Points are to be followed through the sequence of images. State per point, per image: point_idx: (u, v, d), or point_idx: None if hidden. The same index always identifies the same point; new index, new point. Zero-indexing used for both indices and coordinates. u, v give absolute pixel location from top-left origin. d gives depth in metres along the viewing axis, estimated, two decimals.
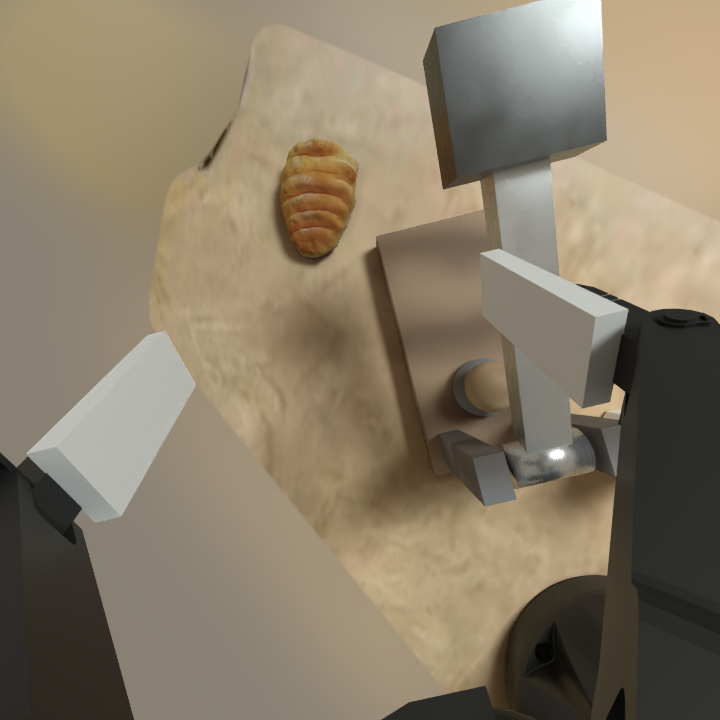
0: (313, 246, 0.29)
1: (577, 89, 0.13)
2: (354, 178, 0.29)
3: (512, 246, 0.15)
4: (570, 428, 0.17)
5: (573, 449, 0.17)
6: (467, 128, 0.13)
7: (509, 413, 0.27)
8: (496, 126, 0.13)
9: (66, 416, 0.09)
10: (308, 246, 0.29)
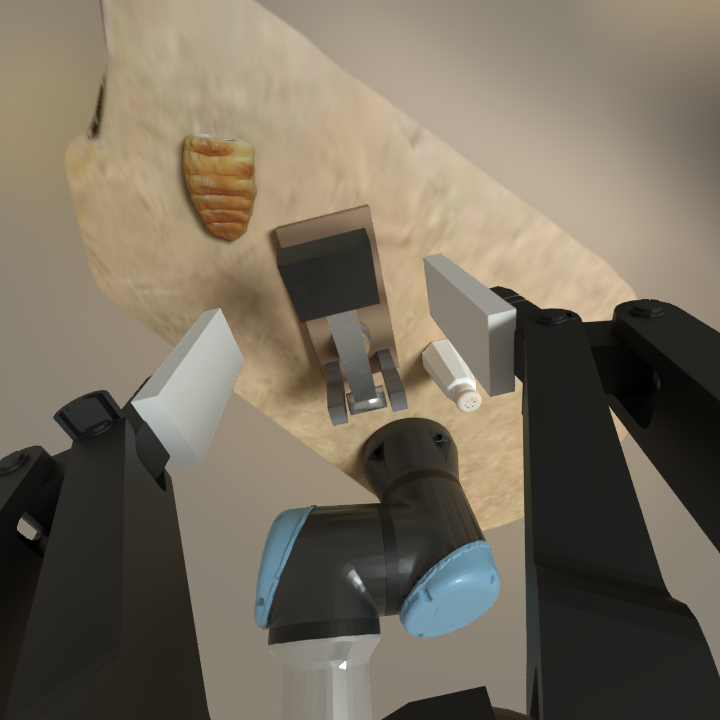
0: (227, 235, 0.35)
1: (362, 285, 0.24)
2: (252, 173, 0.32)
3: (338, 336, 0.28)
4: (376, 393, 0.35)
5: (377, 401, 0.36)
6: (303, 304, 0.24)
7: (370, 350, 0.43)
8: (319, 302, 0.24)
9: (154, 374, 0.10)
10: (222, 235, 0.35)
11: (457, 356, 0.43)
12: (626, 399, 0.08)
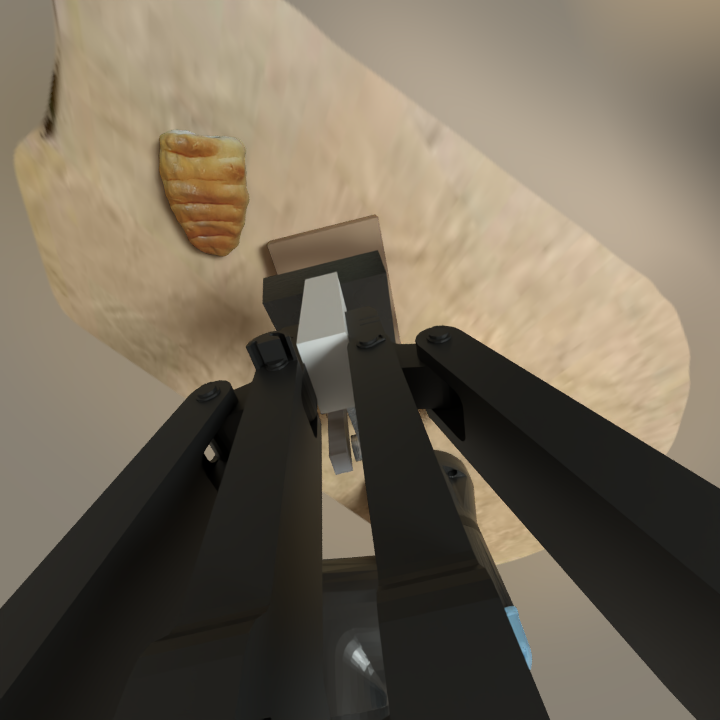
0: (215, 250, 0.30)
1: None
2: (243, 176, 0.27)
3: None
4: None
5: None
6: None
7: None
8: None
9: (300, 324, 0.11)
10: (210, 251, 0.30)
11: None
12: (445, 416, 0.09)
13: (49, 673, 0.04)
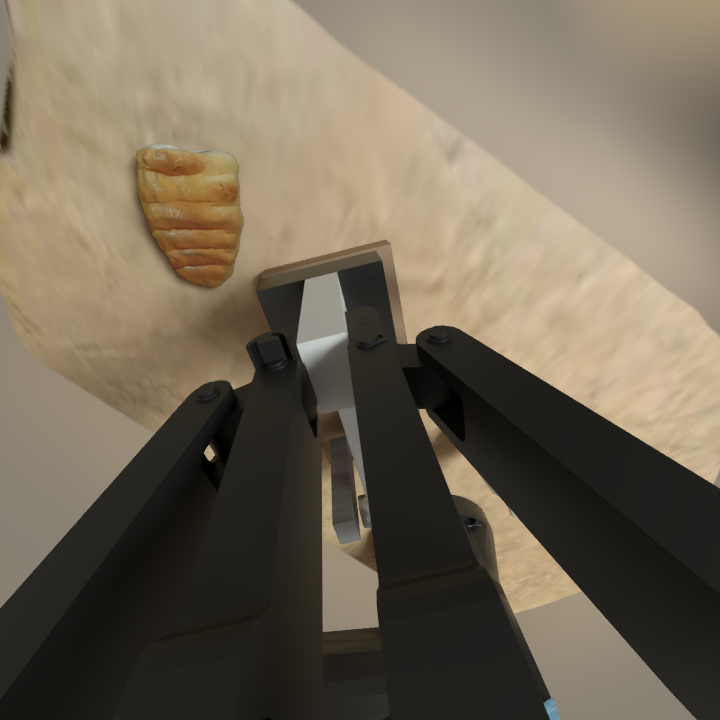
0: (205, 281, 0.26)
1: None
2: (235, 196, 0.23)
3: None
4: None
5: None
6: None
7: None
8: None
9: (300, 324, 0.11)
10: (199, 282, 0.26)
11: None
12: (446, 416, 0.09)
13: (49, 673, 0.04)
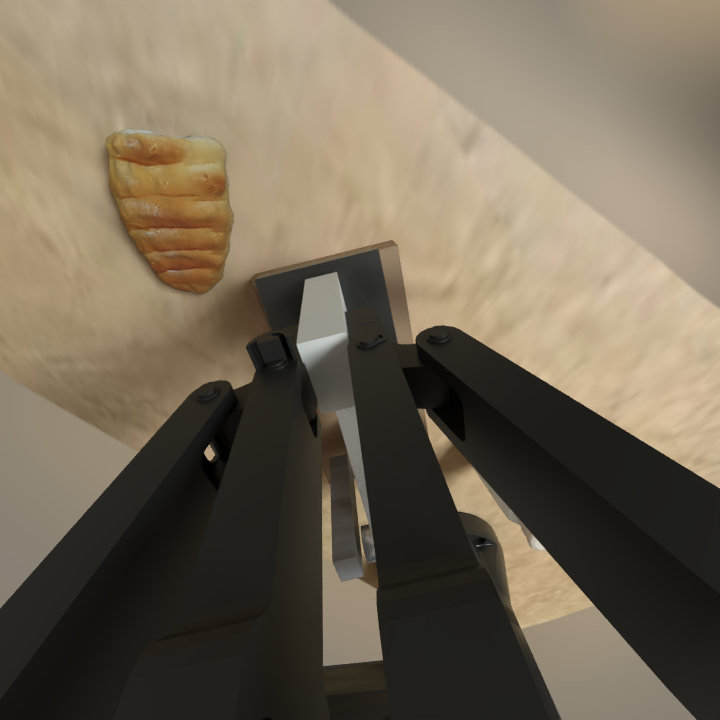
0: (191, 287, 0.23)
1: None
2: (223, 189, 0.20)
3: None
4: None
5: None
6: None
7: None
8: None
9: (300, 324, 0.11)
10: (185, 287, 0.23)
11: None
12: (446, 416, 0.09)
13: (49, 673, 0.04)
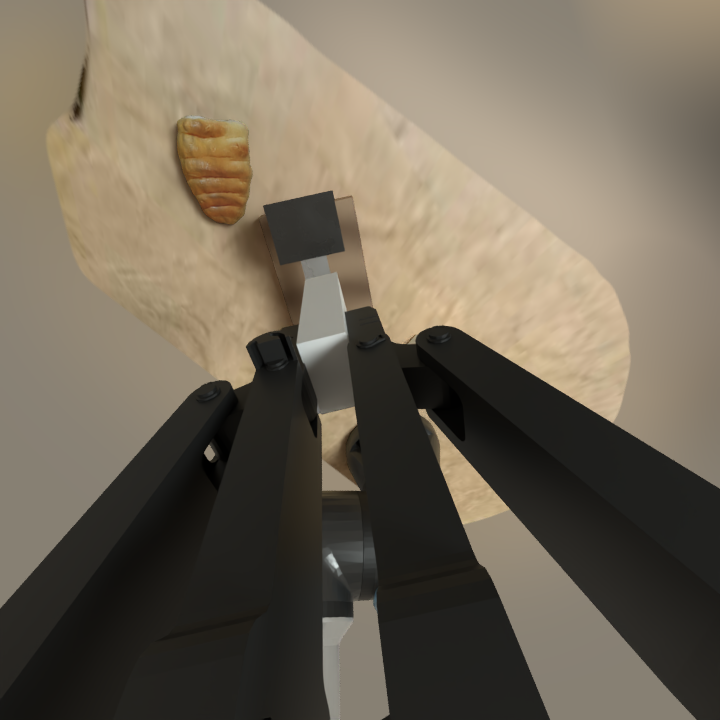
0: (225, 219, 0.35)
1: (328, 230, 0.30)
2: (246, 153, 0.32)
3: None
4: None
5: None
6: (282, 245, 0.30)
7: None
8: (295, 244, 0.30)
9: (300, 324, 0.11)
10: (220, 219, 0.35)
11: None
12: (445, 416, 0.09)
13: (49, 673, 0.04)
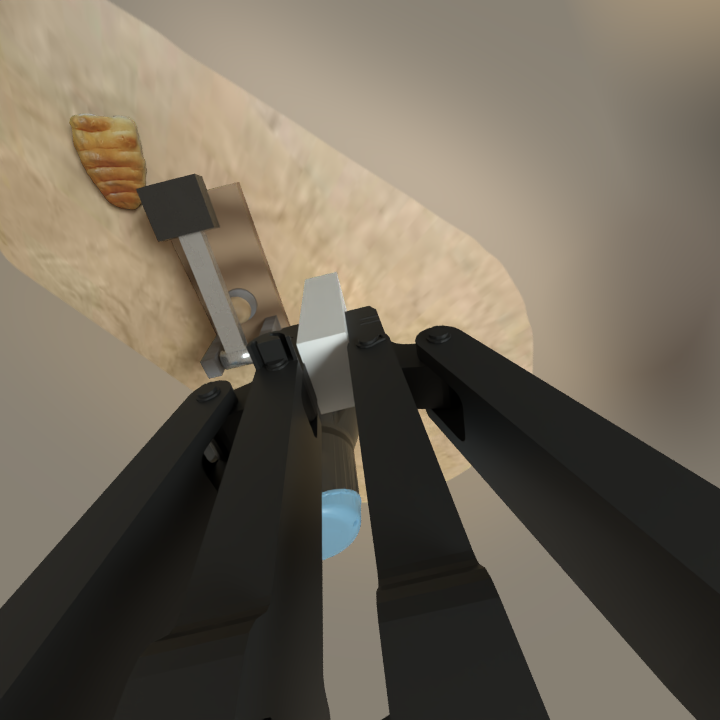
0: (125, 205, 0.40)
1: (196, 209, 0.34)
2: (134, 145, 0.37)
3: (194, 265, 0.37)
4: (242, 342, 0.41)
5: (244, 351, 0.41)
6: (157, 223, 0.35)
7: (259, 317, 0.48)
8: (168, 222, 0.35)
9: (300, 324, 0.11)
10: (122, 205, 0.40)
11: None
12: (445, 416, 0.09)
13: (49, 673, 0.04)
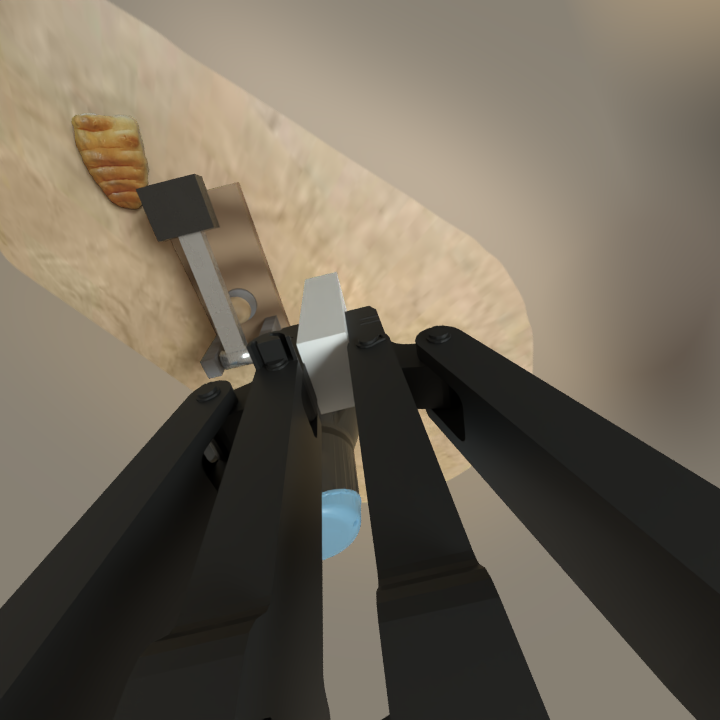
0: (128, 204, 0.40)
1: (196, 209, 0.34)
2: (136, 144, 0.37)
3: (194, 265, 0.37)
4: (242, 342, 0.41)
5: (244, 351, 0.41)
6: (157, 223, 0.35)
7: (259, 317, 0.48)
8: (168, 222, 0.35)
9: (301, 324, 0.11)
10: (124, 204, 0.40)
11: None
12: (445, 416, 0.09)
13: (49, 673, 0.04)
